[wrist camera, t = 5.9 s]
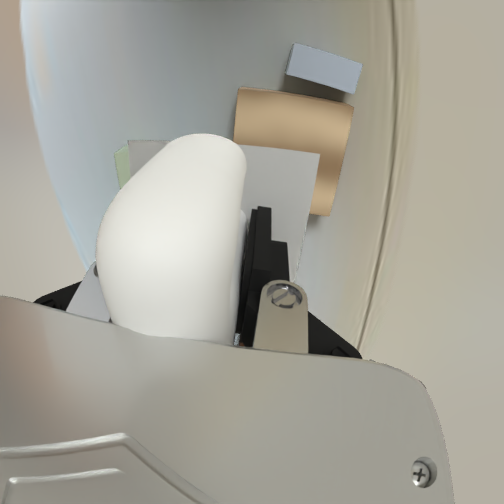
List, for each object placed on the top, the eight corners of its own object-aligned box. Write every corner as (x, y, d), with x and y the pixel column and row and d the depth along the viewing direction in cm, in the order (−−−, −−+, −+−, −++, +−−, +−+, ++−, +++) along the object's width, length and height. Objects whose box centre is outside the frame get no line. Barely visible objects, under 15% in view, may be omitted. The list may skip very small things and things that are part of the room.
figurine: (311, 110, 13) (519, 535, 1) (284, 271, 18) (287, 551, 6) (158, 99, 13) (-149, 355, 1) (165, 258, 18) (77, 513, 6)
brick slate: (285, 73, 25) (286, 74, 22) (292, 45, 23) (295, 42, 20) (345, 91, 25) (353, 94, 23) (353, 63, 23) (362, 64, 21)
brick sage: (126, 144, 29) (113, 153, 27) (151, 142, 29) (140, 150, 27) (134, 194, 33) (123, 206, 30) (158, 194, 33) (149, 206, 30)
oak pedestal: (241, 86, 25) (238, 89, 23) (346, 103, 26) (354, 107, 23) (231, 190, 32) (227, 203, 29) (324, 203, 32) (329, 216, 30)
